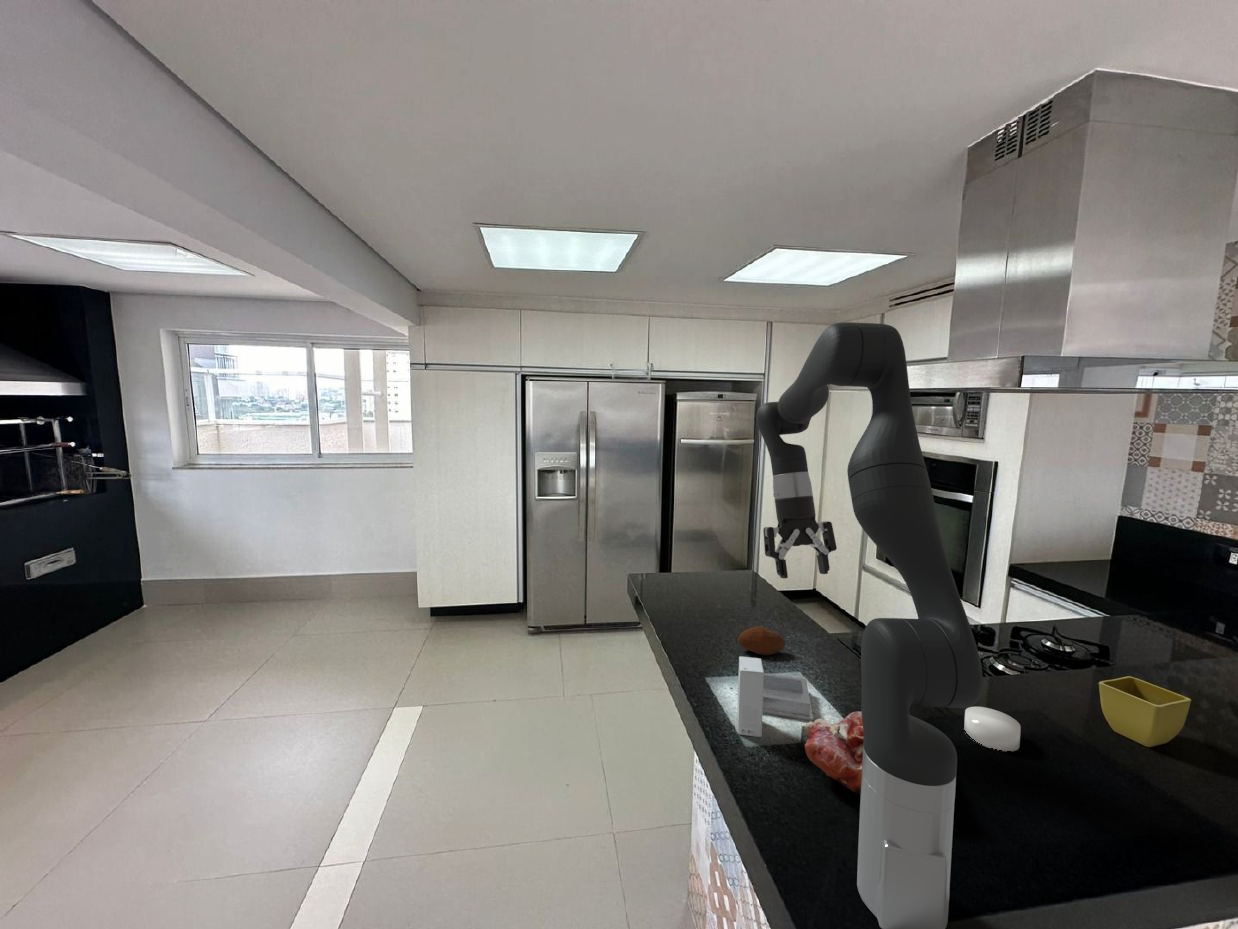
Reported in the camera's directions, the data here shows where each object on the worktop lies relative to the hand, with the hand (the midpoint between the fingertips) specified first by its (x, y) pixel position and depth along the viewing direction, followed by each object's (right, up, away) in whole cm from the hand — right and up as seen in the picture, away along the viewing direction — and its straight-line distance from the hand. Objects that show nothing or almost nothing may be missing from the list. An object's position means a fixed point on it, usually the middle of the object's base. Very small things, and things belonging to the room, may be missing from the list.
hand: (804, 575), depth 100 cm
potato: (-2, -24, +23) cm, 33 cm away
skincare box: (-13, -26, -8) cm, 31 cm away
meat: (+3, -27, -19) cm, 33 cm away
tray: (-5, -26, +1) cm, 26 cm away
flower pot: (+57, -27, -10) cm, 64 cm away
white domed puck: (+30, -27, -11) cm, 41 cm away
